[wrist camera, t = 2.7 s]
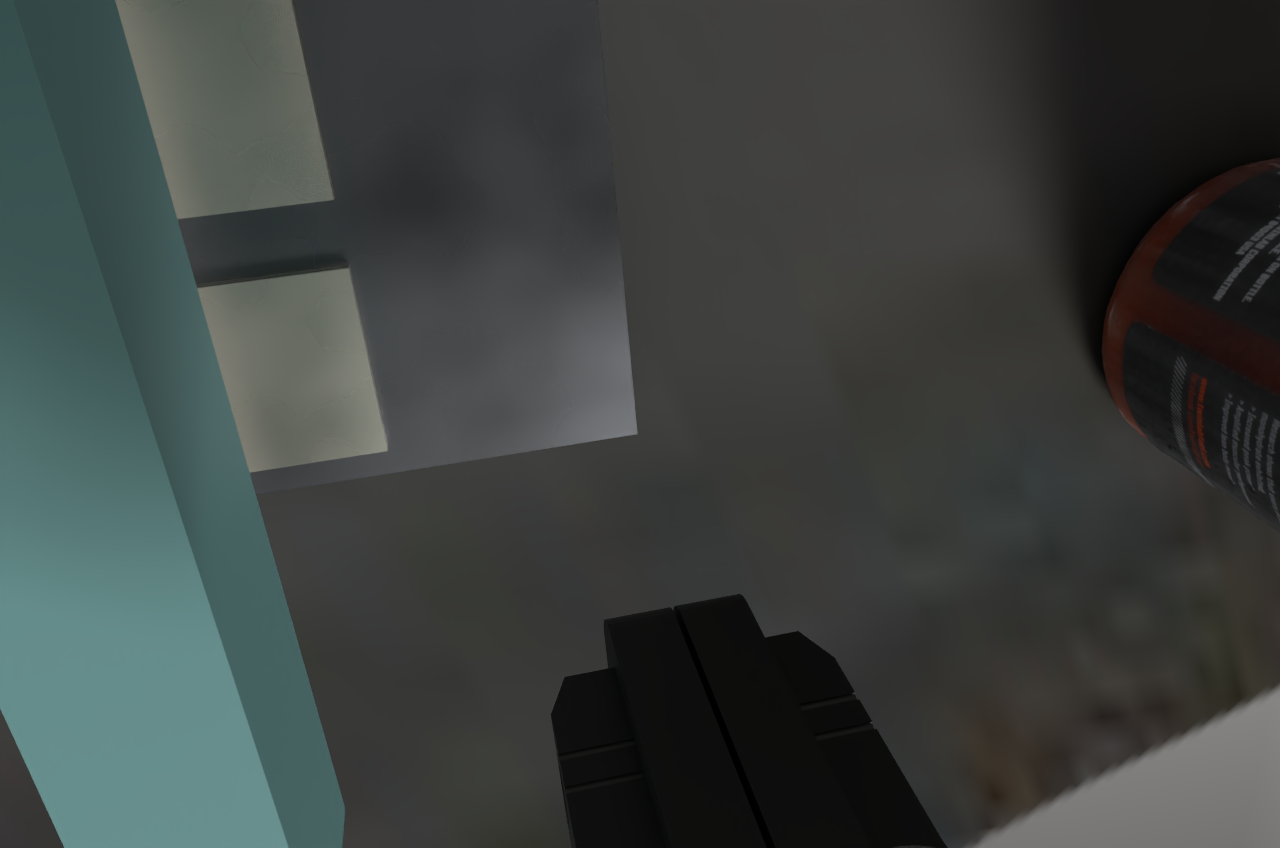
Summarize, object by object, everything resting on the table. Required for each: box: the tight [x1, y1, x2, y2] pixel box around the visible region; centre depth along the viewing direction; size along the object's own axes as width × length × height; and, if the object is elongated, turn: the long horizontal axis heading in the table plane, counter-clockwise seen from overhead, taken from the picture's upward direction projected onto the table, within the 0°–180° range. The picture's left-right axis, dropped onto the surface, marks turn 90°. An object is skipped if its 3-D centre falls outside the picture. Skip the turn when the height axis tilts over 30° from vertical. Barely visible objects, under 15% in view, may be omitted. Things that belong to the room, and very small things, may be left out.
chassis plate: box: [115, 0, 637, 495], centre depth 11 cm, size 12×12×10 cm
